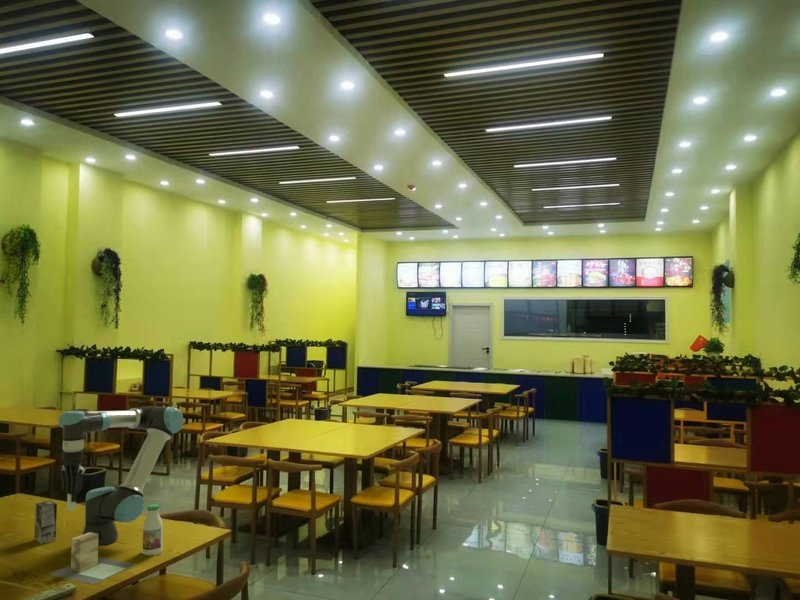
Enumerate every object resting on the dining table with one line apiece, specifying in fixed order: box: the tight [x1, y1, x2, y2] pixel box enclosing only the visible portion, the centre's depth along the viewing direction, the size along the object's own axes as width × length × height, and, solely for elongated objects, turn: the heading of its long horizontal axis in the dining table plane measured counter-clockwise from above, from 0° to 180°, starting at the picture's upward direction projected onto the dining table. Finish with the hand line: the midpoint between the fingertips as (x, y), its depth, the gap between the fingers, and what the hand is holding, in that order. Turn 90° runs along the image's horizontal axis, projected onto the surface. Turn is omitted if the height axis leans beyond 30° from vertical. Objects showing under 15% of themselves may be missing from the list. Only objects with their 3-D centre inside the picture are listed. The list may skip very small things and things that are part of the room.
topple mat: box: [49, 556, 138, 585], centre depth 233 cm, size 24×20×1 cm
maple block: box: [70, 532, 99, 572], centre depth 235 cm, size 5×8×12 cm, turn 157°
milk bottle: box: [142, 503, 164, 556], centre depth 252 cm, size 8×8×20 cm
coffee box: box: [34, 500, 58, 544], centre depth 268 cm, size 9×6×16 cm
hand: (71, 509), depth 239 cm, fingers closed
